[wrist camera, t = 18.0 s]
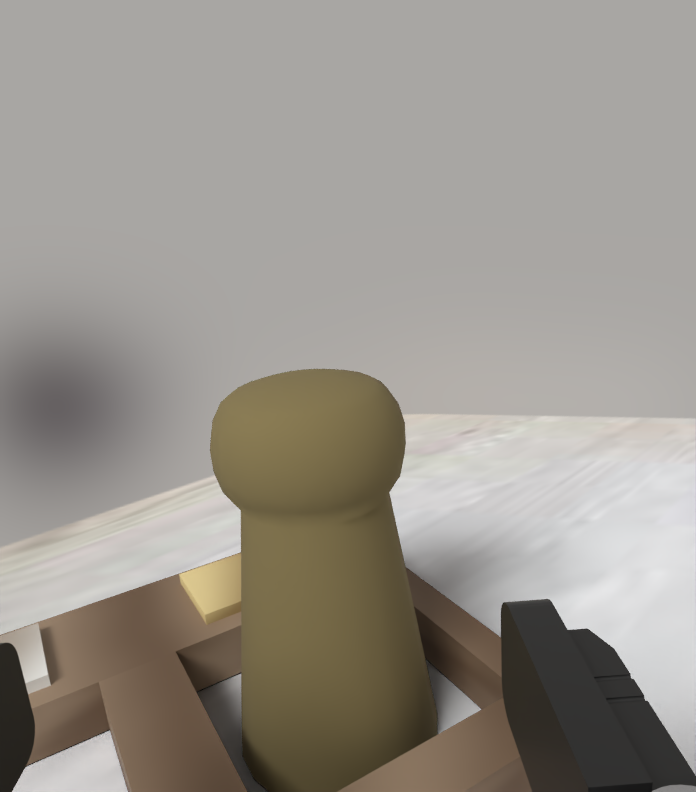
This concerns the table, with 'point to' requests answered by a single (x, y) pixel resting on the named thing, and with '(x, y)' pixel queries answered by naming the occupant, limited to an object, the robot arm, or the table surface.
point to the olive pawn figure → (321, 579)
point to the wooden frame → (220, 659)
